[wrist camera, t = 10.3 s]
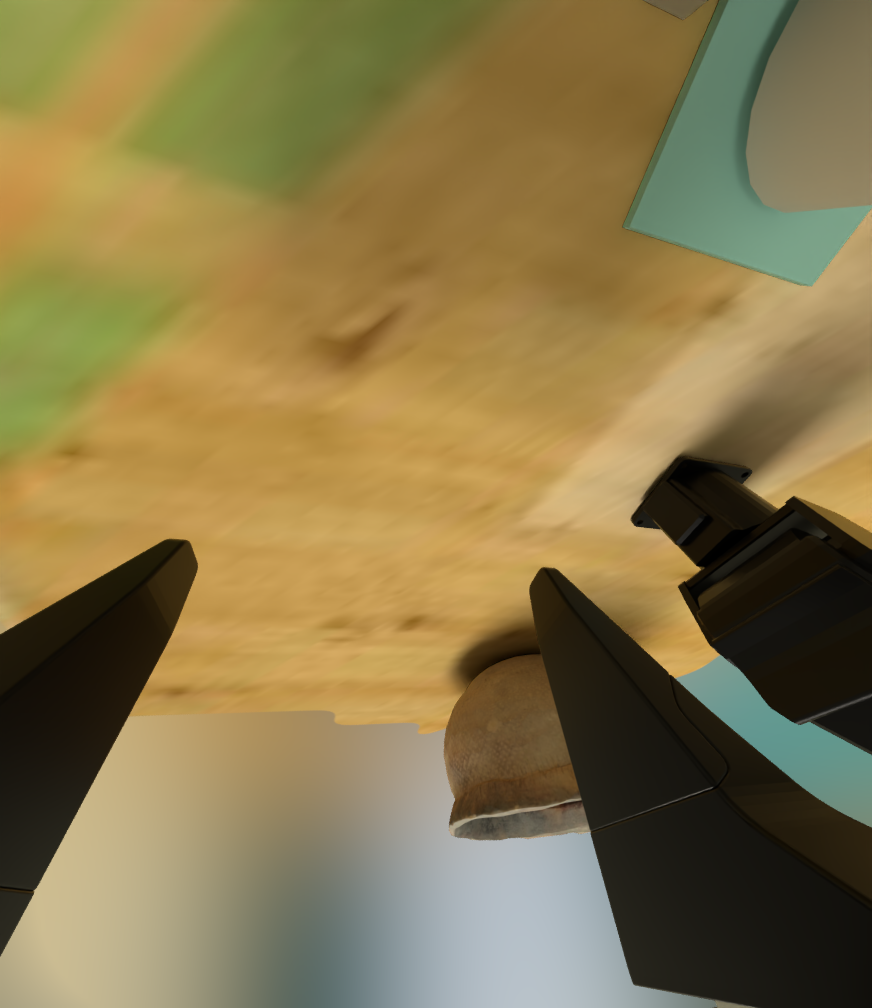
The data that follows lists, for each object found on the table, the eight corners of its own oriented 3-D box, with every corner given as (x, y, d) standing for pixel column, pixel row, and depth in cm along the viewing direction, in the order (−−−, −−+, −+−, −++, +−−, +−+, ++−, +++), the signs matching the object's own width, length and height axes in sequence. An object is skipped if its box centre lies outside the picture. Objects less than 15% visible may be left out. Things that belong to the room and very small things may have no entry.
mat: (1095, -112, 11) (1128, -129, 10) (800, 285, 17) (811, 286, 17) (855, -318, 8) (882, -351, 8) (622, 227, 15) (629, 226, 14)
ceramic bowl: (570, 697, 51) (622, 831, 39) (433, 710, 49) (444, 855, 37) (626, 618, 37) (730, 788, 25) (438, 631, 35) (458, 822, 24)
